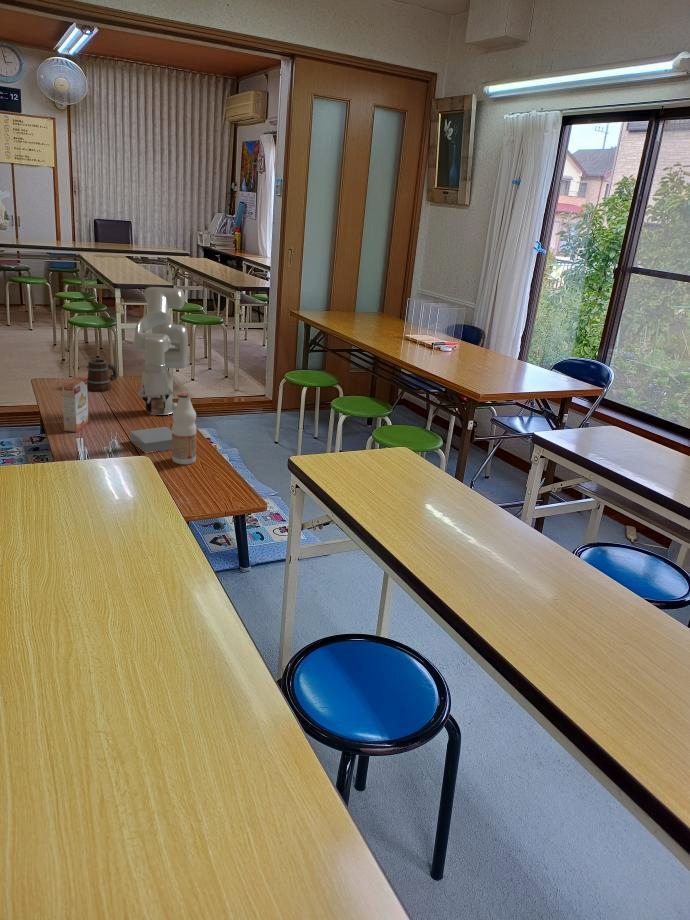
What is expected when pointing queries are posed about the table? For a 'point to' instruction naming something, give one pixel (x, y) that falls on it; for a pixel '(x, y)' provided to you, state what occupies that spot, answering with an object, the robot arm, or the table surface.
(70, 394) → the cracker box
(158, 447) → the grey box
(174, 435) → the fruit juice
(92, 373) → the mug
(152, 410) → the walnut block
